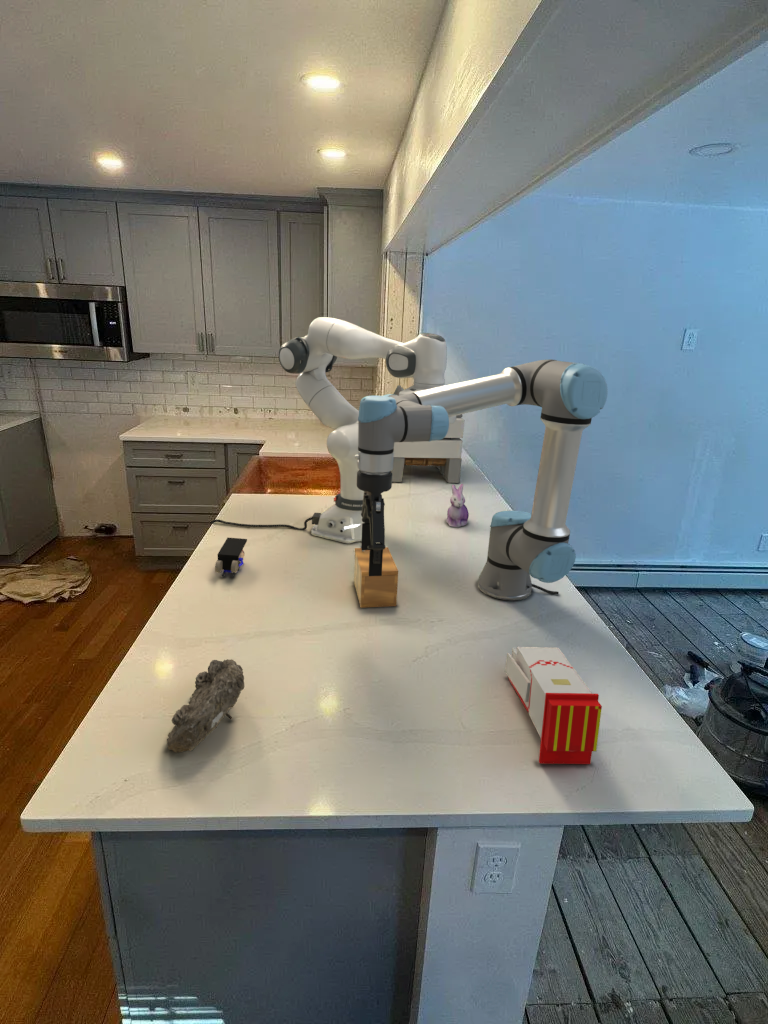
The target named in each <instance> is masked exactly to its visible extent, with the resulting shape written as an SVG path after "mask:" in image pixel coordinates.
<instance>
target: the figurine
mask: <svg viewBox="0 0 768 1024" xmlns="http://www.w3.org/2000/svg"><path fill="white" fill-rule="evenodd" d="M463 491H464V483H461V484H460V485H459V487H456V485H455V484H452V485H451V496H450V500H449V501H450V506H449V507H448V508H447V514H446V516H447V517H446V523H447V525H448V526H449V527H454V528H460V527H464V526H466V525H468V521H469V517H470V516H469V510H468V507H467V506H466V504H465V503H466V498H465V496H464V492H463Z"/></svg>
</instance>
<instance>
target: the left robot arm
mask: <svg viewBox="0 0 768 1024" xmlns="http://www.w3.org/2000/svg"><path fill="white" fill-rule="evenodd" d="M447 346H448V345H447V342H446V339H445V338H444V337H443V336H441V335H439V334H436V333H431V332H421V333H419V334H418V335H417V336H415V337H414V338H412V339H410V340H408V341H406V342H405V341H400V340H397V339H394V338H390V337H386V336H384V335H380V334H378V333H376V332H373V331H370V330H369V329H366V328H363V327H361V326H359V325H357V324H355V323H353V322H349V321H347V320H344V319H340V318H336V317H331V316H330V317H329V316H318V317H316V318H314V319H312V321H311V322H310V323H309V326H308V330H307V334H306V335H305V336H297V337H294V338H292V339H291V338H290V339H289V340H287V341H285V342H283V344H282V345H281V346H280V347H279V350H278V361H279V364H280V366H281V367H282V369H283V370H284V371H285V372H287V373H288V374H298V376H297V377H296V379H295V388H296V390H297V393H298V394H299V395H300V397H301V399H302V401H303V402H304V403H305V405H307V407H308V408H309V409H310V411H311V412H312V413H313V414H314V415H315V417H316V418H317V419H318V420H319V422H320V423H321V424H322V425H323V426H325V427H327V428H330V429H332V431H331V432H330V433H329V434H328V436H327V437H326V448H327V451H328V453H329V455H330V456H331V457H332V458H333V459H334V460H335V461H336V464H337V466H338V470H339V476H340V480H339V481H340V484H339V485H340V488H339V489H340V490H339V491H338V492H337V494H336V495H335V496H334V497H333V502H334V504H333V505H331V506H329V507H328V508H326V509H325V510H323V512H314V513H313V514H312V516H310V517H308V518H306V519H305V520H304V522H303V527H301V528H299V527H296V526H294V525H290V524H281V523H279V524H250V523H249V524H247V523H239V522H231V521H226V520H222V519H217V518H216V519H213V520H212V521H210V523H209V524H210V525H213V524H214V523H220V524H224V525H229V526H236V527H245V528H289V529H292V530H297V531H306V530H307V528H308V522H311V525H313V526H312V528H311V530H310V533H311V536H315V537H319V538H323V539H326V540H330V541H336V542H339V543H343V544H352V543H357V542H362V523H364V522H362V516H361V513H362V504H363V496H364V491H362V490H360V489H358V487H357V472H358V470H359V469H358V467H357V466H358V460H356V459H355V455H359V454H358V422H359V421H358V417H359V409H357V408H356V407H355V406H353V405H352V404H351V403H350V402H349V401H348V400H347V399H346V398H345V397H344V396H343V395H342V394H341V392H339V390H338V389H337V388H336V387H335V385H333V383H331V381H330V380H329V378H328V377H327V375H326V373H330V372H331V371H332V370H333V366H334V364H335V363H336V361H337V359H338V358H340V359H346V360H362V359H383V360H385V367H386V368H387V371H388V373H389V374H390V375H391V376H392V377H393V378H398V379H410V378H413V385H410V386H409V387H407V388H405V389H404V390H403V391H400V392H399V396H400V395H404V394H409V393H414V392H419V391H423V390H428V389H432V388H437V387H441V386H446V379H445V373H446V370H447V360H448V347H447ZM455 420H456V416H452V417H449V424H451V423H454V422H455ZM412 443H413V442H412Z"/></svg>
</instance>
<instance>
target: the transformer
mask: <svg viewBox="0 0 768 1024" xmlns="http://www.w3.org/2000/svg"><path fill="white" fill-rule="evenodd" d="M403 390H405V389H404V388H403V387H402V385H399V384H398V385H397V386H396V388H395V390H394V392H393V394H395V395H398V396H399V392H400V391H403ZM464 429H465V419H464V418H463V414H460V415H456V420H455V422H454V423H451V424H449V429H448V432H447V435H446V436H445V437H444V438H443V439H441V440H436V441H431V442H428V441H420V442H413V443H412V442H395V443H394V457H393V470H391V473H392V483H402V482H403V475H404V469H405V466H406V467H407V466H411V467H412V466H413V467H415V466H416V467H417V466H418V467H436V468H437V470H438V469H439V473H440V474H441V475H443V478H444V479H445V481H446V482H447V483H449V484H455V483H456V484H459V483H461V472H462V461H463V460H462V453H463V442H464V441H463V440H462V439H463V438H464V431H465V430H464Z"/></svg>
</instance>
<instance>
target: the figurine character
mask: <svg viewBox="0 0 768 1024" xmlns="http://www.w3.org/2000/svg"><path fill="white" fill-rule="evenodd" d="M247 542H248V538H240V537H226V539H225V541H224V543H223V544H222V546H221V547H220V549H219V551H218V552H217V560H216V562H215V564H214V572H215V573H221V577H222V578H224V577H225V576H226V574H227V573H230V574H231V573H232V574H231V578H234V577H235V575H236V573H237V572H239V571H240V567H242V566H243V565H244V564H245V562H244V558H245V551H244V547H245V546H246V544H247Z"/></svg>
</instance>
